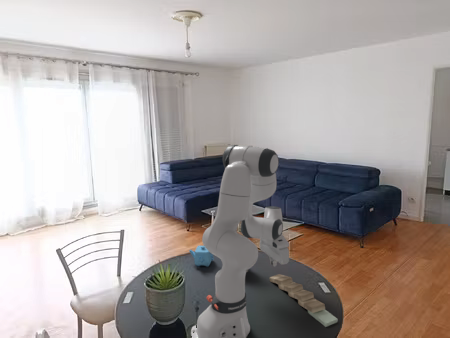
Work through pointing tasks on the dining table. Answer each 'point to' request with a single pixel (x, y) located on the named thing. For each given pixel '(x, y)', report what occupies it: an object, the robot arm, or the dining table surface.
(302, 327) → the dining table surface
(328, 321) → the end domino
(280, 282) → the domino
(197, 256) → the teapot
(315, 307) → the domino
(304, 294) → the domino
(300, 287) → the domino
